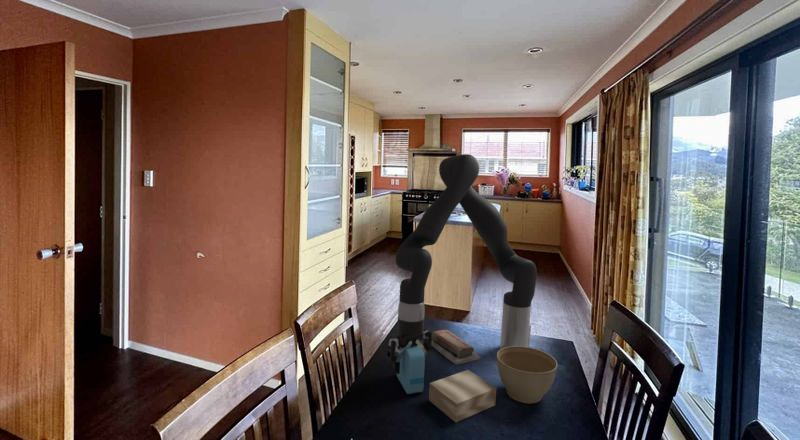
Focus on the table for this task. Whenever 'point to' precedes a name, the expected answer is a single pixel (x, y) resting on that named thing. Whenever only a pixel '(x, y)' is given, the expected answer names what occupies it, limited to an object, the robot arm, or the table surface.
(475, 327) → the table surface
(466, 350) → the packaged product
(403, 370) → the blue product box
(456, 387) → the stand
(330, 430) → the table surface
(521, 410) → the table surface
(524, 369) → the planter bowl
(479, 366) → the table surface
